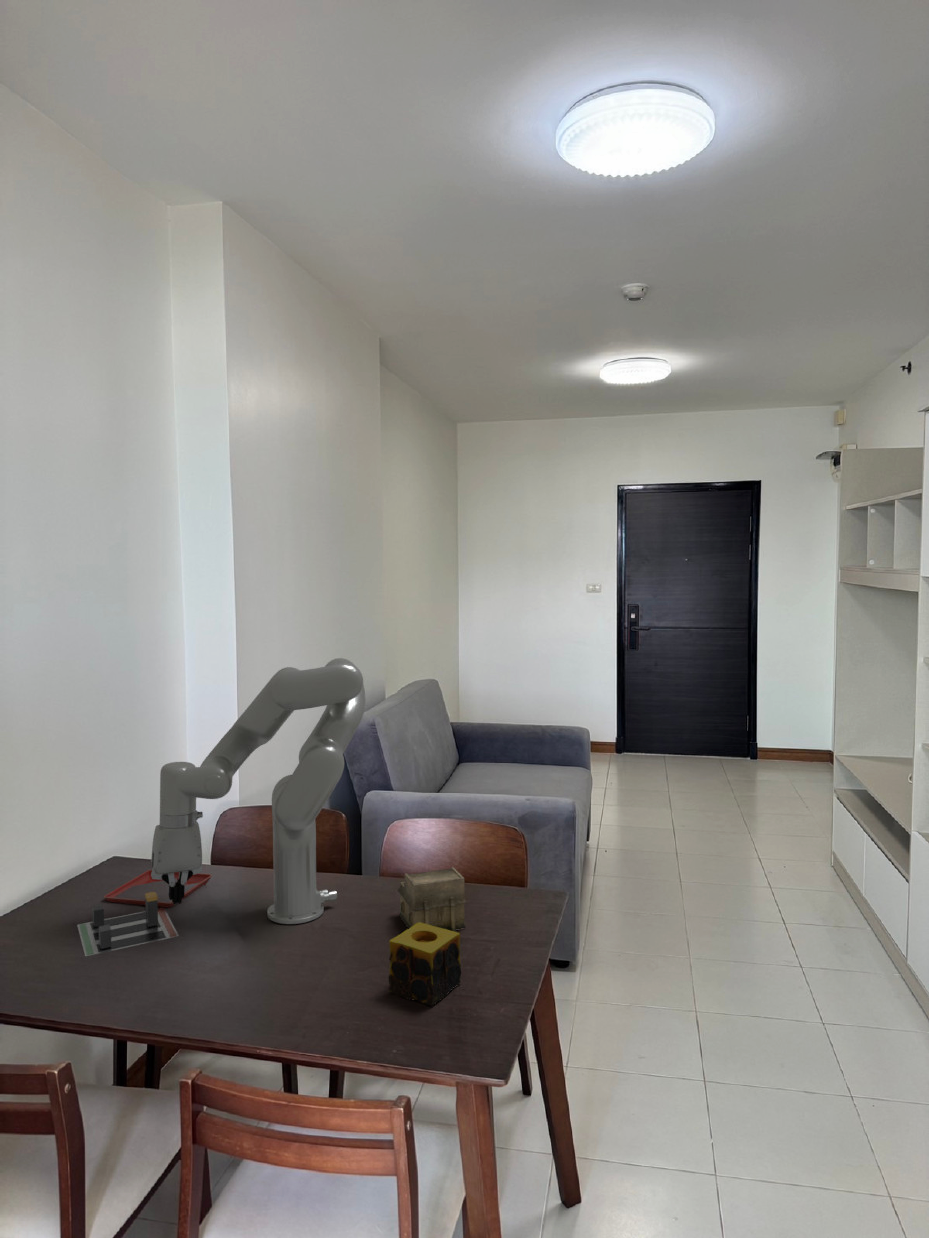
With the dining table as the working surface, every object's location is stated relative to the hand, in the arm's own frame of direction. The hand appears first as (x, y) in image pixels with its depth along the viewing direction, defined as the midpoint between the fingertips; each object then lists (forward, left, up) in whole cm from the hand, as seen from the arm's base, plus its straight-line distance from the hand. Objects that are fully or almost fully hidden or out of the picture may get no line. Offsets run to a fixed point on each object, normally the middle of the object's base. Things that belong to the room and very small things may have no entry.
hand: (176, 901), depth 181 cm
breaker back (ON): (+15, -6, -4) cm, 17 cm away
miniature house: (-50, +27, -6) cm, 57 cm away
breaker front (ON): (+15, +6, -4) cm, 17 cm away
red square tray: (0, -19, -6) cm, 20 cm away
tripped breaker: (+5, 0, -4) cm, 7 cm away
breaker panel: (+10, 0, -6) cm, 12 cm away
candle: (-35, +52, -6) cm, 63 cm away
